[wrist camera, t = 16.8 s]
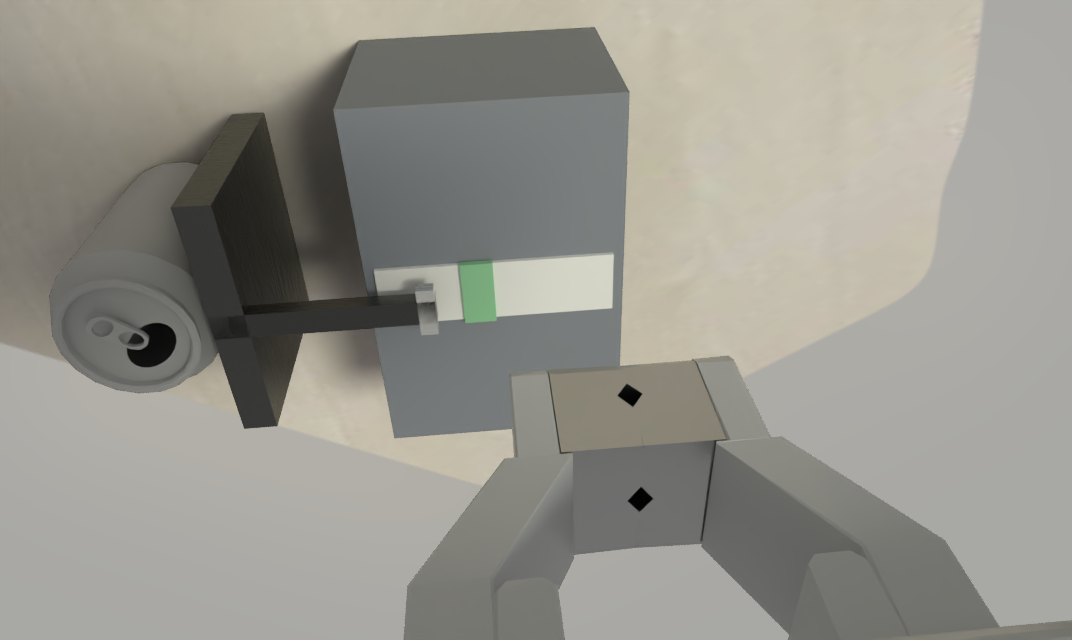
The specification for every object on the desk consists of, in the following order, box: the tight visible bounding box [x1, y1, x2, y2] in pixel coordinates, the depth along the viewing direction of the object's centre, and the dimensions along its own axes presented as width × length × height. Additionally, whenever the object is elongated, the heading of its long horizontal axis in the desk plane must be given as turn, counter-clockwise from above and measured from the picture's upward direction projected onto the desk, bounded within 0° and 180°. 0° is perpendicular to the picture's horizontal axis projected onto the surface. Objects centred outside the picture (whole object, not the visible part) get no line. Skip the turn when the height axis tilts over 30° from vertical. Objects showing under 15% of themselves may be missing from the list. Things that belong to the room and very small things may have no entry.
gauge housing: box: [333, 27, 629, 438], centre depth 41 cm, size 12×18×10 cm, turn 2°
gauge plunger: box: [170, 113, 439, 429], centre depth 39 cm, size 10×12×10 cm
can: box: [49, 162, 218, 393], centre depth 39 cm, size 8×8×12 cm
